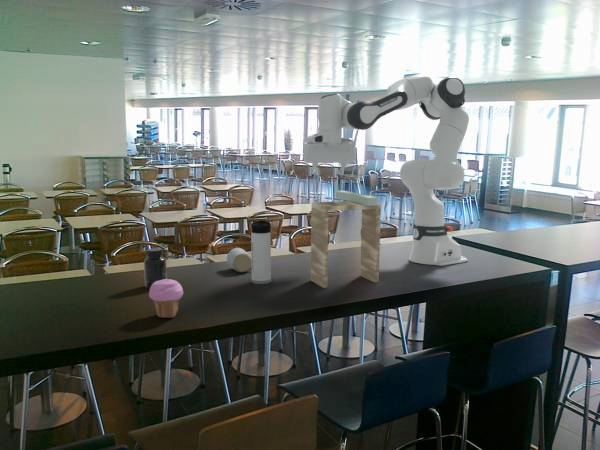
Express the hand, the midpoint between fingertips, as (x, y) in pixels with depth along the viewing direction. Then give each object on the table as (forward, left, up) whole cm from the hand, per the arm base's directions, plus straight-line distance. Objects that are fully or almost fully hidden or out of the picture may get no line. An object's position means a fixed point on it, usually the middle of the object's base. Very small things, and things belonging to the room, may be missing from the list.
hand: (329, 174), depth 209 cm
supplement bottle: (+67, +16, -33) cm, 77 cm away
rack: (+8, +31, -33) cm, 46 cm away
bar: (+3, +28, -7) cm, 29 cm away
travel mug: (+34, +22, -33) cm, 52 cm away
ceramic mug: (+35, +4, -33) cm, 49 cm away
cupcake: (+68, +47, -33) cm, 89 cm away
